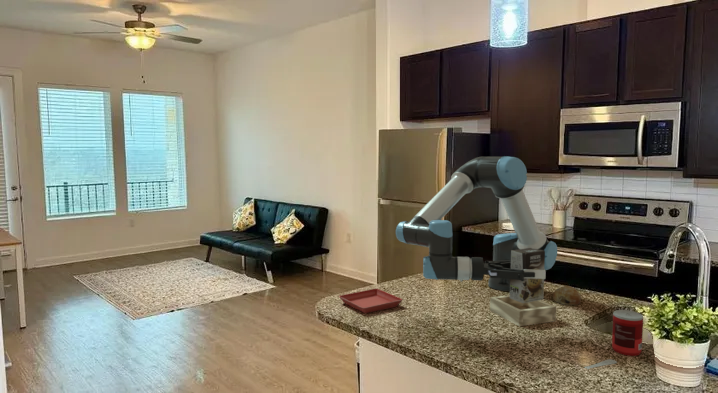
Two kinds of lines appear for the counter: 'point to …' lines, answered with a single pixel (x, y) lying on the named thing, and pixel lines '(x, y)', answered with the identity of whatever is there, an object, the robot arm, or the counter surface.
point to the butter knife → (602, 363)
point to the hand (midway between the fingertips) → (541, 270)
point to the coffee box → (528, 287)
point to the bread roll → (567, 296)
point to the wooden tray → (522, 310)
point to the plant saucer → (370, 300)
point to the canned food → (627, 332)
